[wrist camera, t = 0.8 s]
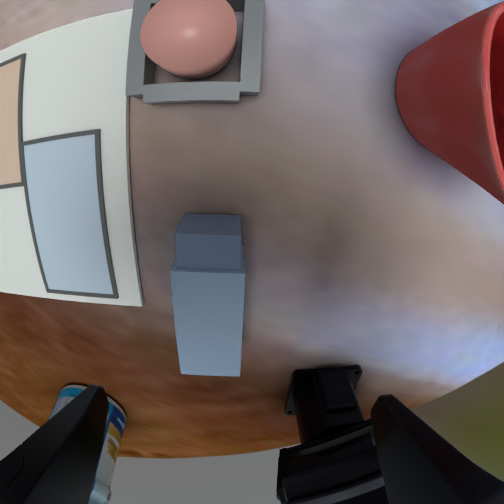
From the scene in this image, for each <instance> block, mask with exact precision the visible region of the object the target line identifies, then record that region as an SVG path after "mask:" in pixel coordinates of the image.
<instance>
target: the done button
mask: <svg viewBox="0 0 504 504" xmlns="http://www.w3.org/2000/svg"><path fill="white" fill-rule="evenodd" d="M140 39H141V44H142V47H143V50H144V52H145V53H146V55H147V56H148V57H149V58H150V59H151V60H152V61H153V62H155V63H156V64H158V65H159V66H161V67H162V68H164V69H165V70H167V71H168V72H170V73H171V74H173V75H175V76H177V77H181V78H185V79H199V78H204V77H207V76H210V75H212V74H214V73H216V72H218V71H219V70H221V69H222V68H223V67H224V66H225V65H227V63H228V62H229V61H230V60H231V58H232V56H233V54H234V52H235V49H236V43H237V20H236V16H235V13H234V10H233V9H232V7H231V6H230V4H229V3H228V2H227V1H226V0H160V1H159V2H158V3H156V4H155V5H154V6H153V7H152V8H151V10H150V11H149V12H148V14H147V15H146V17H145V19H144V21H143V23H142V27H141V32H140Z"/></svg>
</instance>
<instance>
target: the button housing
mask: <svg viewBox="0 0 504 504" xmlns="http://www.w3.org/2000/svg"><path fill="white" fill-rule="evenodd" d="M159 1H160V0H134V5H133V12H132V19H131V27H130V36H129V46H128V57H127V72H126V91H125V96H130V97H135V98H140V97H143V103H146V104H170V103H205V102H218V103H239V95H258V94H259V92H260V76H261V58H262V39H263V20H264V2H265V0H226V1H227V2H228V3H229V4H230V6H231V7H232V9H233V10H234V11H244V21H243V37H242V54H241V72H240V82H177V83H161V84H154V67H155V62H153V61H152V60H151V59H150V58H149V57H148V56H147V55H146V53H145V52H144V50H143V47H142V44H141V39H140V32H141V27H142V23H143V21H144V19H145V17H146V15H147V14H148V12H149V11H150V10H151V8H152V7H153V6H154V5H155V4H156V3H158V2H159Z"/></svg>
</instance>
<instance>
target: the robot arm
mask: <svg viewBox="0 0 504 504" xmlns="http://www.w3.org/2000/svg"><path fill="white" fill-rule="evenodd" d="M361 374H362V369H361V367H360V366H353V367H343V368H331V369H318V370H301V371H296V372H294V373H293V375H292V379H291V384H290V389H289V393H288V397H287V402H286V406H285V414H287V415H296V419H297V424H298V429H299V435H300V440H301V444H300V445H297V446H294V447H290V448H283V449H280V455H279V460H278V475H277V499H278V500H279V501H281V504H504V482H503V481H501V480H499V479H498V478H496V477H495V476H493V475H492V474H490V473H488V472H486V471H485V470H484V469H482V468H481V467H479V466H478V465H476V464H475V463H473V462H472V461H471V460H470V459H468V458H467V457H466V456H465V455H463V454H462V453H461V452H460V451H458V450H457V449H456V448H455V447H454V446H452V445H451V444H450V443H449V442H448V441H446V440H445V439H444V438H443V437H442V436H440V435H439V434H438V433H437V432H436V431H434V430H433V429H432V428H431V427H430V426H429V425H427V424H426V423H425V422H424V421H423V420H421V419H420V418H419V417H418V416H417V415H416V414H414V413H413V412H412V411H411V410H410V409H409V408H407V407H406V406H405V405H404V404H403V403H401V402H400V401H399V400H398V399H397V398H396V397H394V396H393V395H392V394H384V395H380V396H379V397H378V399H377V401H376V402H375V404H374V406H373V407H372V410H371V418H370V419H368V420H364V417H363V414H362V411H361V409H360V406H359V403H358V400H357V397H356V394H355V391H354V390H355V388H356V385H357V383H358V381H359V378H360V376H361ZM108 410H109V401H108V398H107V396H106V393H105V391H104V388H103V387H102V386H99V385H95V384H91V385H89V386H88V387H86V388H85V389H84V390H83V391H82V392H81V393H79V394H78V395H77V396H76V397H75V398H74V399H72V400H71V401H70V402H69V403H68V404H67V405H66V406H64V407H63V408H62V409H61V410H60V411H59V412H57V413H56V414H55V415H54V416H53V417H52V418H50V419H49V420H48V421H47V422H46V423H45V424H44V425H42V426H41V427H40V428H39V429H38V430H37V431H35V432H34V433H33V434H32V435H31V436H30V437H29V438H27V440H25V441H24V442H23V443H22V444H21V445H19V446H18V447H17V448H16V449H15V450H14V451H12V452H11V453H10V454H9V455H7V456H6V457H5V458H3V459H2V460H1V461H0V504H89V499H90V495H91V490H92V486H93V482H94V478H95V473H96V470H97V466H98V462H99V458H100V454H101V450H102V446H103V441H104V434H105V428H106V421H107V415H108ZM374 444H375V445H374Z"/></svg>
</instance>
